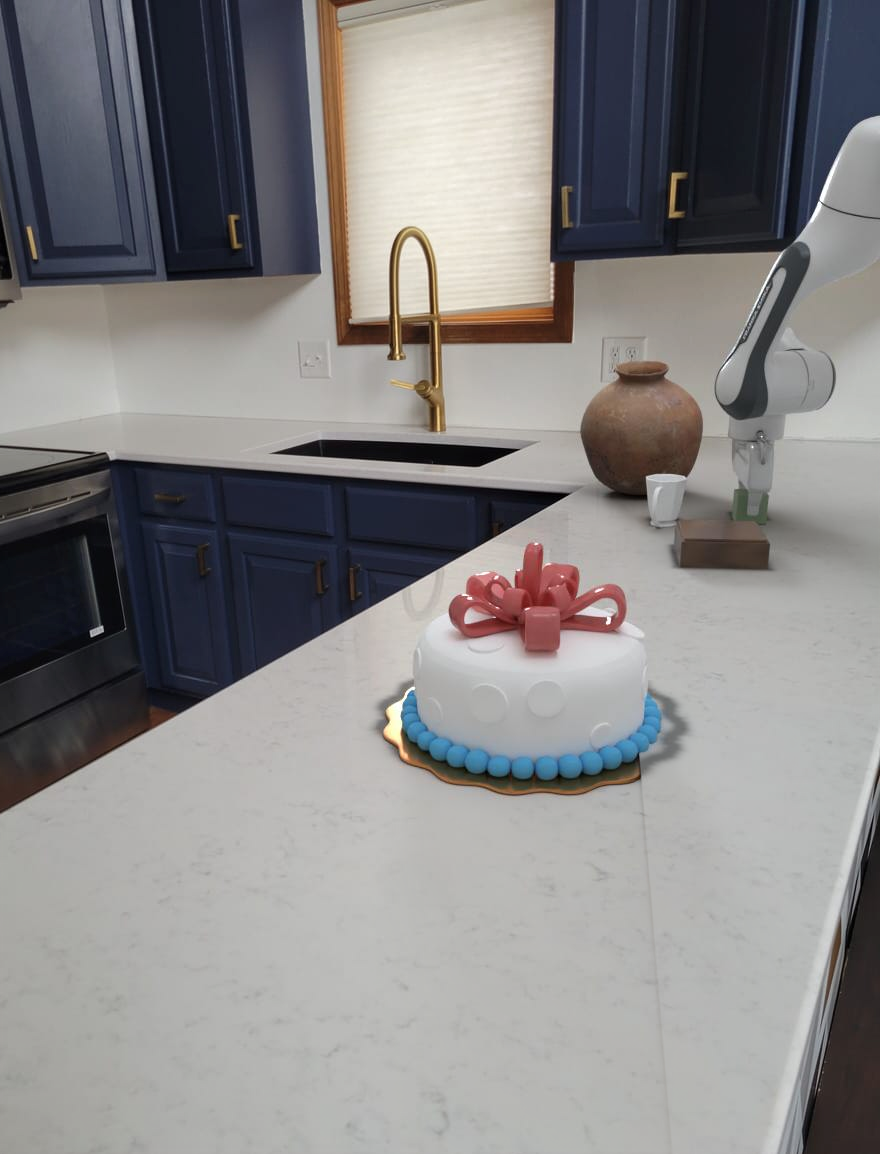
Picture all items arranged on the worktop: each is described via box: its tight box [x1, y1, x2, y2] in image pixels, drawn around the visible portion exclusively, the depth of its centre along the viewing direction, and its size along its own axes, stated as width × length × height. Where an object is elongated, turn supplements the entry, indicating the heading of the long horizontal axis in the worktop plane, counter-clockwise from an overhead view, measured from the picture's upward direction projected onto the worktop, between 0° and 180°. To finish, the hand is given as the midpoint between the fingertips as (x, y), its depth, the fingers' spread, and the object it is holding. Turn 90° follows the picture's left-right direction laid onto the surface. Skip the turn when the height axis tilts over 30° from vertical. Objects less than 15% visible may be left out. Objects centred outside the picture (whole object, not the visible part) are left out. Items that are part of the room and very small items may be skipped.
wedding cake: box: [382, 541, 663, 796], centre depth 89 cm, size 28×28×18 cm
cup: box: [646, 474, 688, 529], centre depth 162 cm, size 7×10×8 cm
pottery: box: [579, 360, 704, 496], centre depth 185 cm, size 23×23×25 cm
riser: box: [672, 519, 771, 570], centre depth 141 cm, size 12×12×5 cm
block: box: [731, 488, 770, 525], centre depth 165 cm, size 5×5×5 cm
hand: (747, 508), depth 165 cm, fingers open, 8 cm apart
